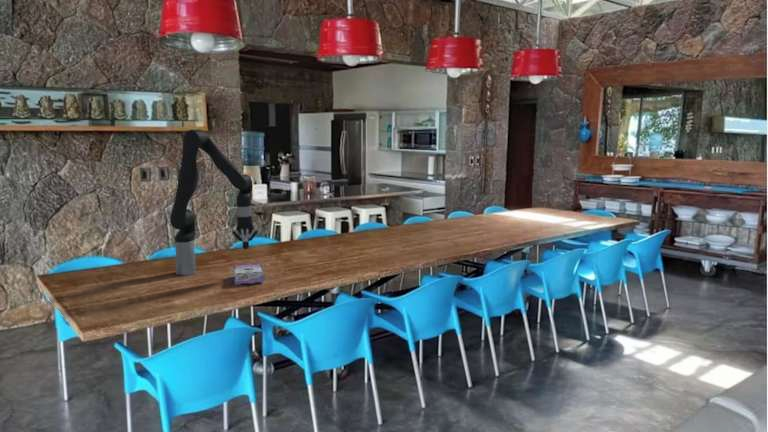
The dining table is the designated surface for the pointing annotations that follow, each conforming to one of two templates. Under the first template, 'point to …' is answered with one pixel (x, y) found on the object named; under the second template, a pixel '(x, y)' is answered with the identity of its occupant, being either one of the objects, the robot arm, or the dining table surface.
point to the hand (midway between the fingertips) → (246, 248)
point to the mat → (231, 279)
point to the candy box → (248, 274)
